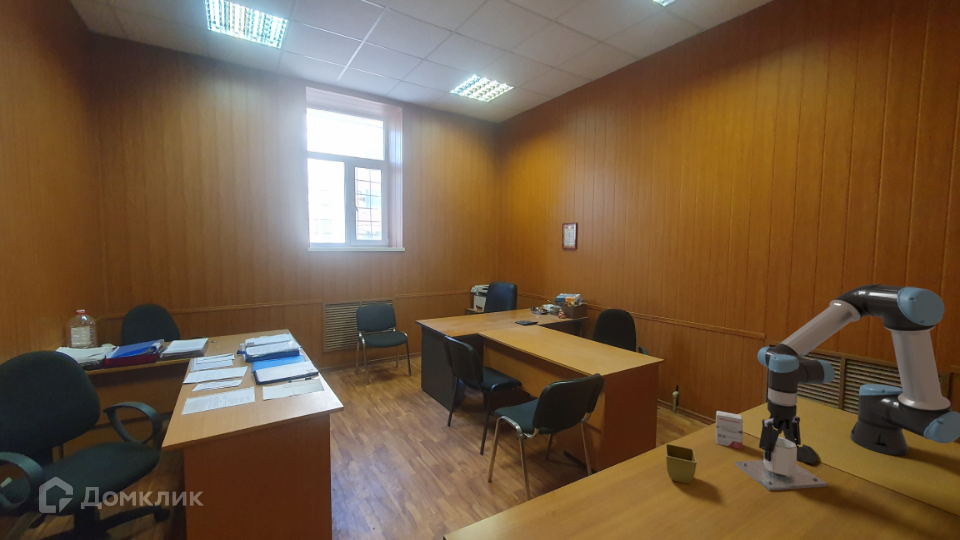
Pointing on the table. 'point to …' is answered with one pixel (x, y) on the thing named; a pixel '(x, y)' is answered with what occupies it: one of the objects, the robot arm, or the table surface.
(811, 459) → the curved wedge
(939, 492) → the table surface
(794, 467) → the octagonal hollow tube
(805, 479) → the duct plate
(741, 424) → the ink box
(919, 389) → the robot arm
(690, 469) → the flower pot
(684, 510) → the table surface
